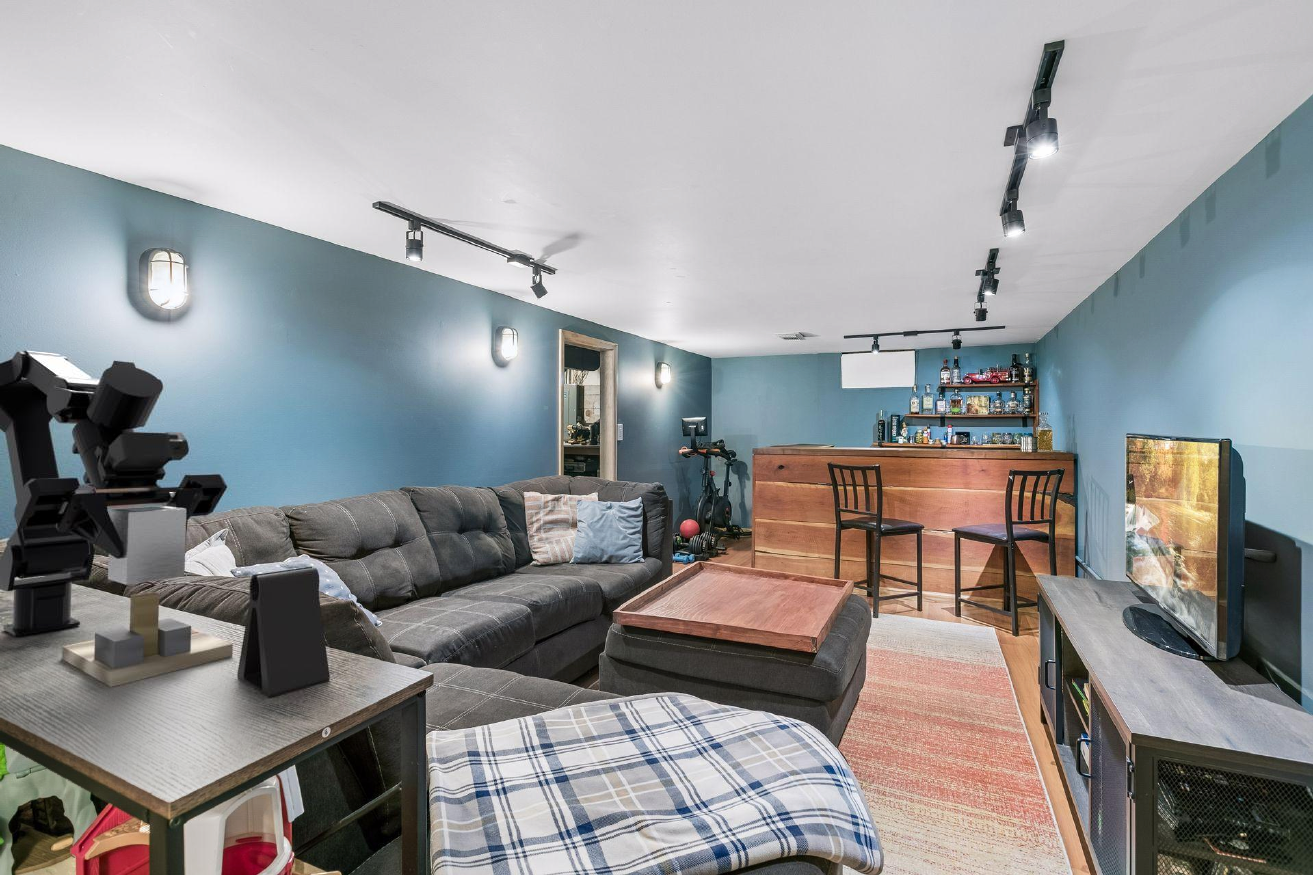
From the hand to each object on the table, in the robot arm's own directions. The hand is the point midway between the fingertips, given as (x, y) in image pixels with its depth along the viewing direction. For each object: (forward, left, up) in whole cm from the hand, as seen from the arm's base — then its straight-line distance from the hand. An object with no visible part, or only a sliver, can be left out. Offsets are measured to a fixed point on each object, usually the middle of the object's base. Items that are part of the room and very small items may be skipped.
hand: (152, 552), depth 69 cm
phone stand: (+16, +7, -14) cm, 22 cm away
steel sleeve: (-1, 0, -3) cm, 3 cm away
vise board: (-5, +1, -13) cm, 14 cm away
